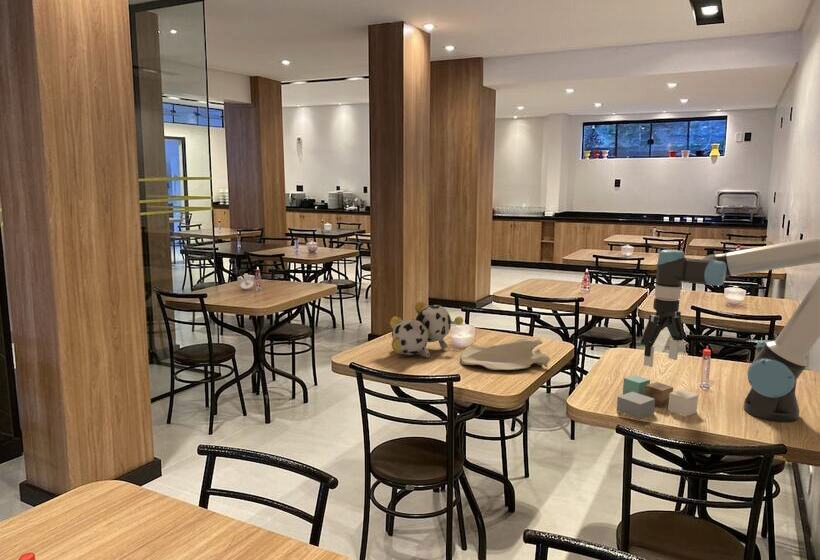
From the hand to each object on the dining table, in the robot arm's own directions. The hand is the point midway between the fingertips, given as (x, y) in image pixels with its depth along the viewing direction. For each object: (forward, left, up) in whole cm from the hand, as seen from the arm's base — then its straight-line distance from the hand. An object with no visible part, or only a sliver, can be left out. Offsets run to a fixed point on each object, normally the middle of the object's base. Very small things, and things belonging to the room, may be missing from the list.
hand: (660, 362), depth 196 cm
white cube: (-9, 0, -14) cm, 17 cm away
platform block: (-1, +13, -14) cm, 19 cm away
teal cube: (+8, 0, -14) cm, 16 cm away
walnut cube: (0, 0, -14) cm, 14 cm away
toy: (+89, +32, -14) cm, 96 cm away
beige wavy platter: (+59, +15, -15) cm, 62 cm away
